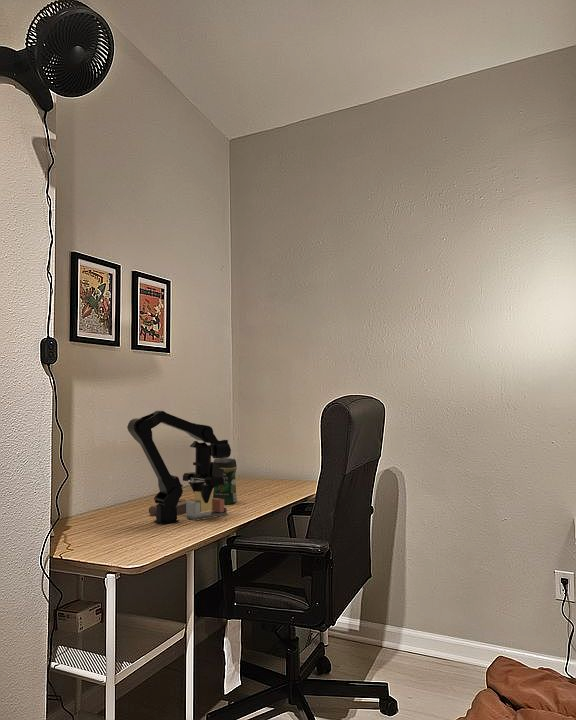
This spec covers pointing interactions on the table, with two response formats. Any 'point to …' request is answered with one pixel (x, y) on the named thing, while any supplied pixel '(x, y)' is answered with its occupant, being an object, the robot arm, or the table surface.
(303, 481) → the table surface
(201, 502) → the block
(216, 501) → the block
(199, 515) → the vise
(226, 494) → the coffee jar
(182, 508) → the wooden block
